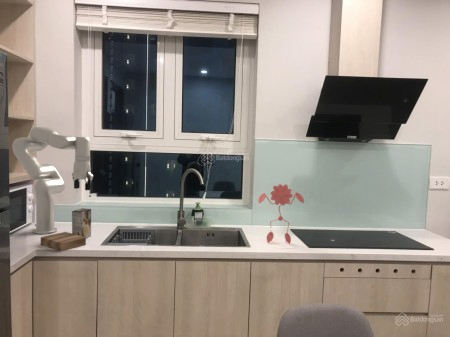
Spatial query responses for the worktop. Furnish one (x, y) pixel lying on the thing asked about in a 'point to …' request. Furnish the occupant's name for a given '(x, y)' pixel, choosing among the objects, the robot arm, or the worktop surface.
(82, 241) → the board
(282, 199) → the pink flower figurine
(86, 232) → the coffee box
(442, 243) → the worktop surface
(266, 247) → the worktop surface
